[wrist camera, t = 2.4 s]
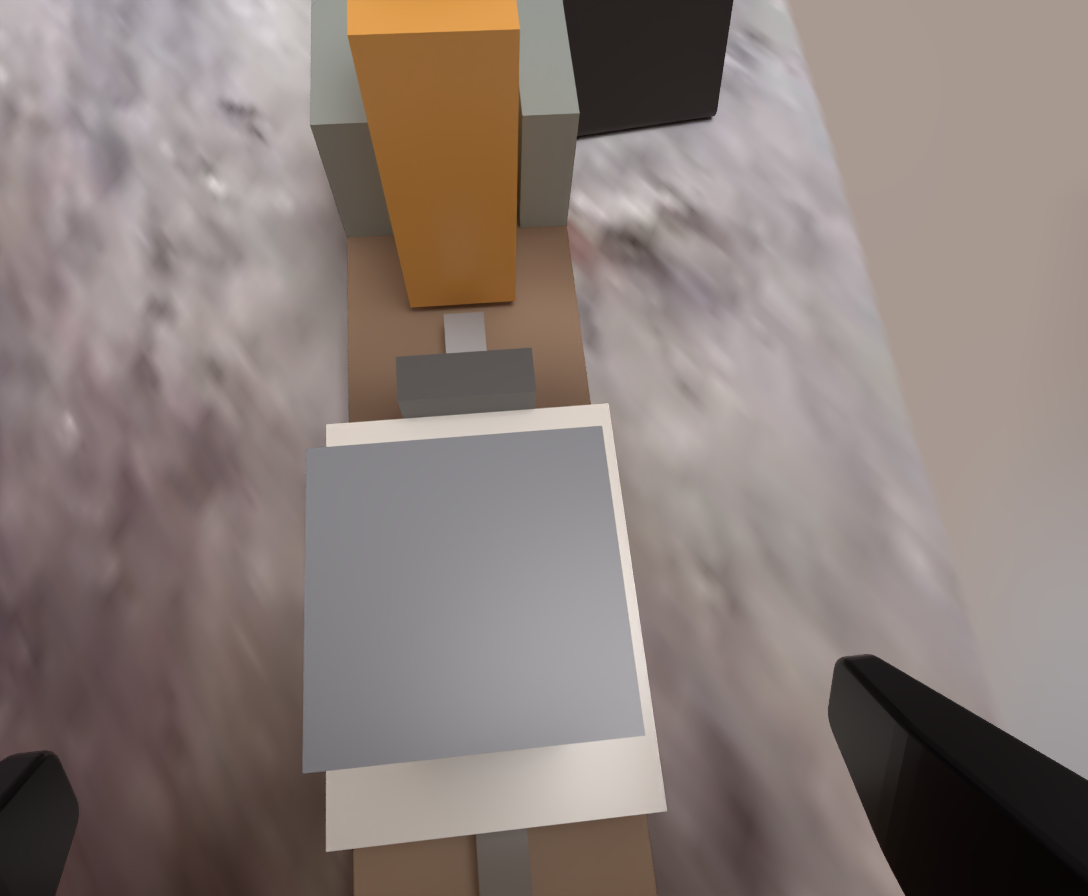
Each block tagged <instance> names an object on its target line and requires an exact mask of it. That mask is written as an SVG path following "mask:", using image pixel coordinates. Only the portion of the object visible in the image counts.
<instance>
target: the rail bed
mask: <svg viewBox="0 0 1088 896" xmlns="http://www.w3.org/2000/svg"><path fill="white" fill-rule="evenodd" d="M347 276H348V373H349V423H353V422H366V421H380V420H393V419H403V416H402V413H401V410H400V408H399V405H398V402H397V377H396V357H400V356H415V355H430V354H444V353H459V352H474V351H488V350H503V349H517V348H532V355H533V365H534V374H535V383H536V401H535V409H540V408H553V407H566V406H580V405H591V402H590V395H589V388H588V380H587V373H586V365H585V358H584V351H583V343H582V336H581V328H580V321H579V314H578V306H577V299H576V291H575V284H574V277H573V269H572V262H571V254H570V247H569V240H568V232H567V225H562V226H544V227H526V228H520V224H519V215H518V206H517V230H516V288H515V301H507V302H491V303H475V304H459V305H444V306H428V307H412V308H411V307H410V303H409V298H408V294H407V290H406V285H405V281H404V277H403V273H402V268H401V264H400V260H399V255H398V251H397V247H396V242H395V238H394V235H382V236H364V237H347ZM353 859H354V896H657V891H656V883H655V876H654V868H653V861H652V854H651V846H650V839H649V831H648V824H647V817H646V814H639V815H631V816H623V817H614V818H606V819H598V820H589V821H581V822H573V823H564V824H556V825H547V826H539V827H531V828H522V829H514V830H506V831H497V832H489V833H481V834H472V835H464V836H455V837H447V838H439V839H430V840H422V841H414V842H405V843H397V844H389V845H380V846H372V847H364V848H355V849H353Z"/></svg>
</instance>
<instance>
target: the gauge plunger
mask: <svg viewBox="0 0 1088 896" xmlns="http://www.w3.org/2000/svg"><path fill="white" fill-rule="evenodd" d="M347 36H348V40H349V44H350V49H351V53H352V57H353V62H354V66H355V70H356V74H357V79H358V83H359V87H360V92H361V96H362V100H363V105H364V109H365V113H366V118H367V122H368V126H369V130H370V135H371V139H372V143H373V148H374V152H375V156H376V161H377V165H378V169H379V173H380V178H381V182H382V186H383V191H384V195H385V199H386V204H387V208H388V212H389V217H390V221H391V225H392V229H393V234H394V238H395V242H396V247H397V251H398V255H399V260H400V264H401V268H402V273H403V277H404V281H405V285H406V290H407V294H408V298H409V303H410V307H411V308H412V307H428V306H444V305H459V304H475V303H491V302H507V301H515V288H516V230H517V172H518V114H519V56H520V25H519V17H518V9H517V1H516V0H347Z"/></svg>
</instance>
